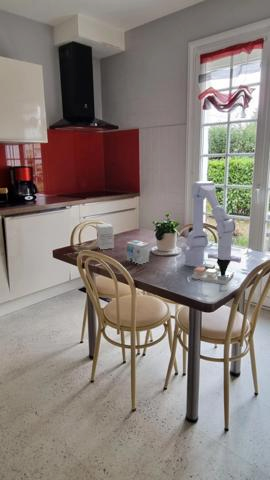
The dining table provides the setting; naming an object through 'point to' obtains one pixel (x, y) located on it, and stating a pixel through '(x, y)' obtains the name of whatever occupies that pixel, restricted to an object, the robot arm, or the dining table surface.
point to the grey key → (209, 266)
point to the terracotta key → (199, 270)
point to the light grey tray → (212, 277)
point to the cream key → (211, 271)
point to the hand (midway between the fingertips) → (223, 275)
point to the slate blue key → (222, 276)
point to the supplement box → (105, 236)
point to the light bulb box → (138, 252)
